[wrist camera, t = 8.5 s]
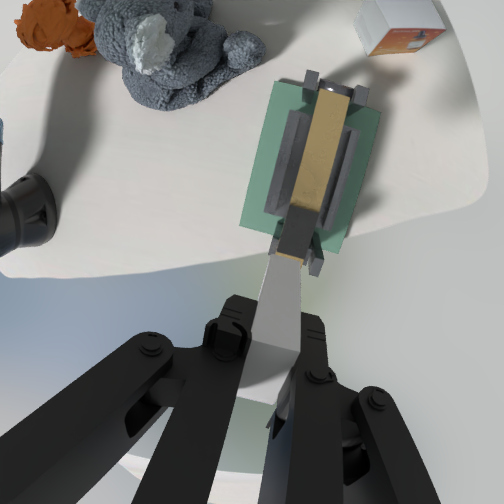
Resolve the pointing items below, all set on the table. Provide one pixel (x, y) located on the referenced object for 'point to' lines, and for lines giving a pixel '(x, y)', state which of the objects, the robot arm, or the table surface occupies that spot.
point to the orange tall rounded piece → (56, 27)
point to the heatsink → (290, 164)
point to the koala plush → (169, 48)
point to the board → (267, 155)
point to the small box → (397, 25)
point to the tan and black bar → (314, 170)
